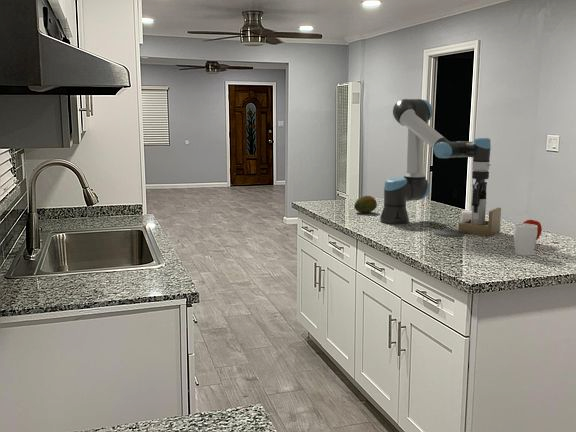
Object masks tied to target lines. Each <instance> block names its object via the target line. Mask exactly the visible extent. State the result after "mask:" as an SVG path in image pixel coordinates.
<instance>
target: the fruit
mask: <svg viewBox="0 0 576 432" xmlns="http://www.w3.org/2000/svg"><path fill="white" fill-rule="evenodd" d="M353 207H354V210H356V212H359V213H362V214H366V213H367V214H368V213H371V212H373V211H375V210H376V209H377V208H378V202H377V200H376V199H375V197H373V196H371V195H364V196H361V197H360V198H358V199H357V200H355V202H354V206H353Z"/></svg>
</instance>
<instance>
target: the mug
mask: <svg viewBox="0 0 576 432" xmlns="http://www.w3.org/2000/svg"><path fill="white" fill-rule="evenodd" d="M460 215H461V216H460V222H463V221H465V220H467V219H471V217H472V210H461V212H460Z"/></svg>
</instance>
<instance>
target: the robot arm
mask: <svg viewBox="0 0 576 432" xmlns="http://www.w3.org/2000/svg"><path fill="white" fill-rule="evenodd" d="M392 108H393V109H392V115H393V118H394V120H395V121H396V122H397V123H399V125H401V126H402V127H406V128H407V150H406V151H407V154H406V173H405V174H404V175H403V177H401V176H396V177H389V178H388V179H385V181H384V186H383V209H382V212H381V215H380V217H379V218H380V219H379V221H380V222H381V223H383V224H389V225H390V224H391V225H401V224H404V225H405V224H408V223H409V222H410V217H409V214H408V211H407V202H412V201H420V200H423V199H425V198H426V197H428V196H429V193H430V190H431V186H430V183H429V180H428V179H426V174H424V156H425V155H424V151H425V144H427V145H428V146H429V147H431V148H432V149H433V154H434V155H435V157H436V158H438V159H450V158H452V159H453V158H472V174H471V177H472V179H473V180H475V182H474V183H473V184H472V197H471V198H472V199H471V207H472V206H473V219H477V220H479V208H480V206H479V201H480V195H481V193H484V192H486V193H487V185H488V182H487V181H486V180H488V179H489V178H490V166H491V163H490V161H491V160H490V157H491V150H492V146H491V143H492V142H491V139H490V138H488V137H475V138H474V140H473V141H466V140H463V141H462V140H459V141H458V140H457V141H450V140H448V139H447V138H446V137H445V136H443V135H442V134H440V133H439V132H438V131H437V130H436V129H435V128H433V127H432V126H431V125H430V124H428V122H429V121H430V120H431V118H432V117H433V112H434V111H433V106H432V105H431V103H430V102H429V101H428V100H426V99H421V98H410V99H409V98H403V99H400V100H398V101H397V102H396V103H395V104H394V105H393V107H392Z"/></svg>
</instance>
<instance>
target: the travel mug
mask: <svg viewBox="0 0 576 432" xmlns="http://www.w3.org/2000/svg"><path fill="white" fill-rule="evenodd" d="M479 206H480V208H479V220H477V219H473V206H472V205H471V211H472V217H471V224H478V225H485V221H486V210H487V208H486V207H487V191H486V192H484V193H481V195H480V201H479Z"/></svg>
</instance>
